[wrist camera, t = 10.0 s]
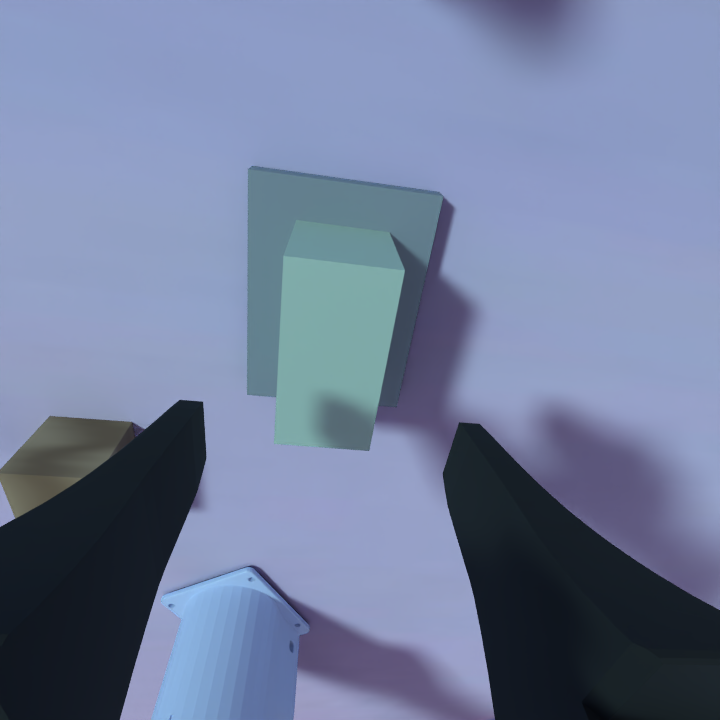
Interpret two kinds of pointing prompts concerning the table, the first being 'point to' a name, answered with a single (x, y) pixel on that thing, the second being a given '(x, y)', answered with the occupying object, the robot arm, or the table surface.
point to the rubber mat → (343, 208)
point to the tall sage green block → (334, 334)
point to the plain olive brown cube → (60, 458)
